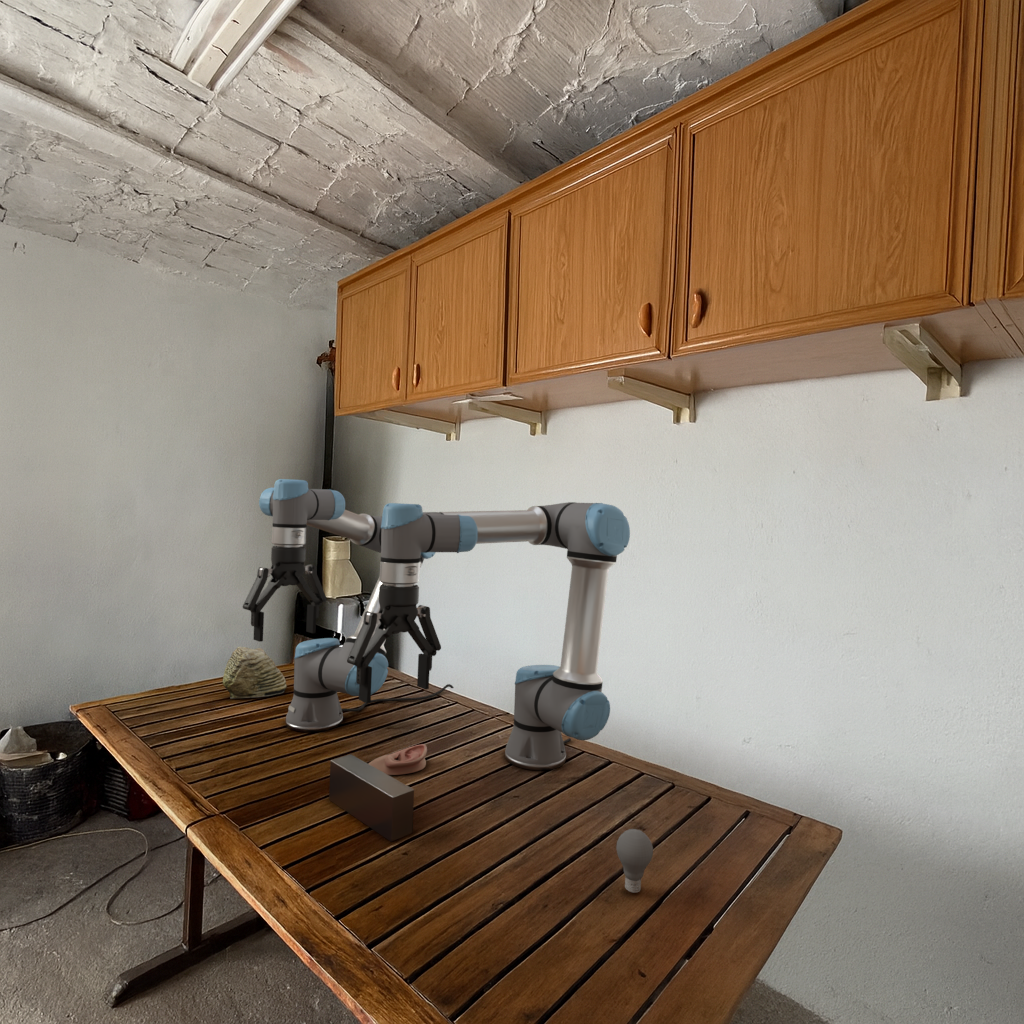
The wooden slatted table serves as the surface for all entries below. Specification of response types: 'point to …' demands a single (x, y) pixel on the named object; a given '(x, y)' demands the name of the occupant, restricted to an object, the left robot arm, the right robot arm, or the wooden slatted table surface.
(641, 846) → the light bulb
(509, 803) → the wooden slatted table surface
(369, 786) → the bar
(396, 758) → the anatomical model
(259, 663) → the fossil
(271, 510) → the left robot arm
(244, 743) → the wooden slatted table surface
